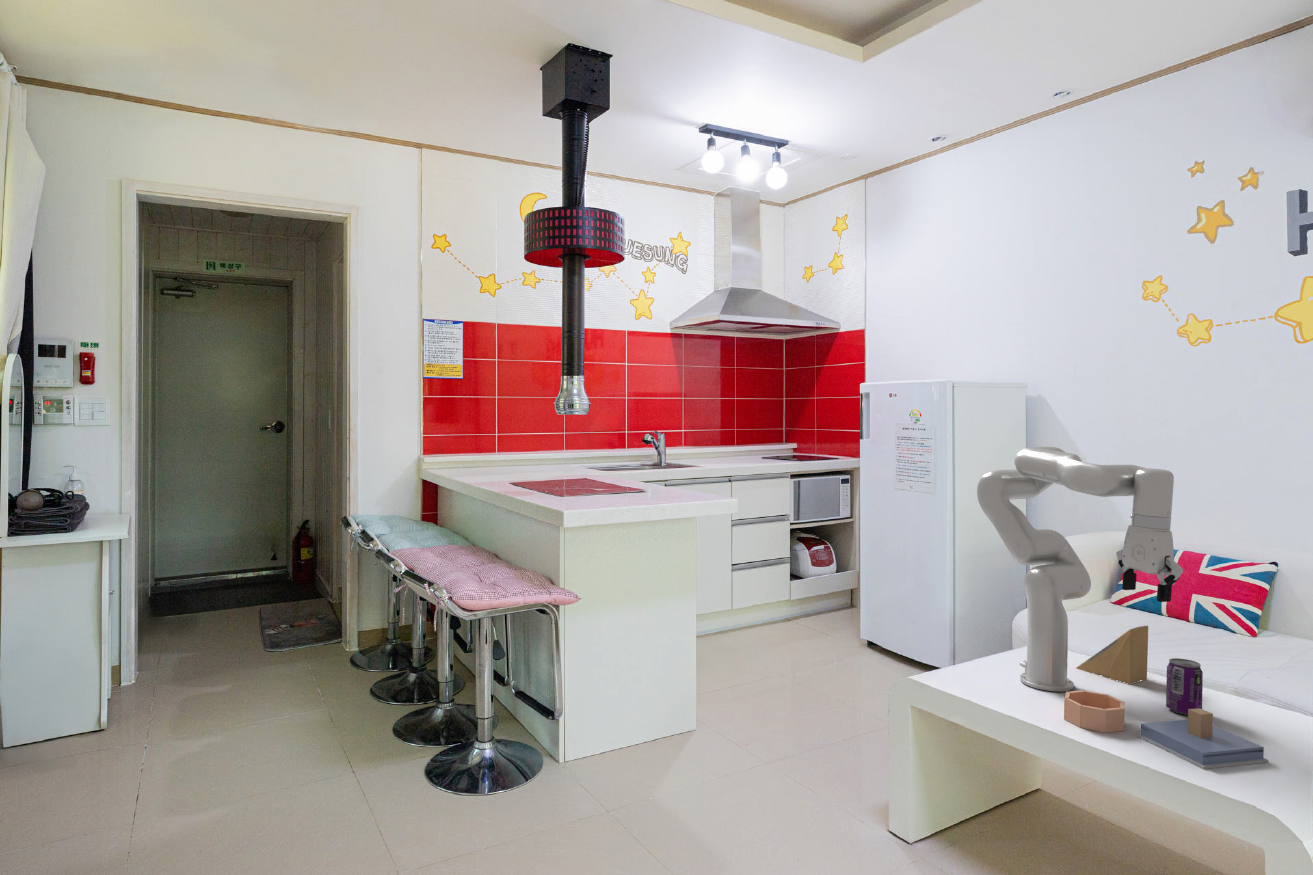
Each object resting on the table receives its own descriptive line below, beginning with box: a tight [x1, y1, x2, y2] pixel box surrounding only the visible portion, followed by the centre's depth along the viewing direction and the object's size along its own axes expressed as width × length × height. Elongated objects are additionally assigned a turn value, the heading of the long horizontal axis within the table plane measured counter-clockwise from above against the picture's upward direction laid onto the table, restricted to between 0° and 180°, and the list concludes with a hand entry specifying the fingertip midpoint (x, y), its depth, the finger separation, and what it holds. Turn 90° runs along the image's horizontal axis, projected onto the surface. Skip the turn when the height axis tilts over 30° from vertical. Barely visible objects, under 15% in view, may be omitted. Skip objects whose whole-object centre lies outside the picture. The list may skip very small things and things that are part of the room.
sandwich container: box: [1075, 625, 1149, 685], centre depth 207 cm, size 9×15×15 cm, turn 28°
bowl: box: [1063, 689, 1126, 733], centre depth 174 cm, size 12×12×5 cm
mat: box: [1136, 733, 1270, 770], centre depth 159 cm, size 16×16×1 cm
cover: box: [1139, 708, 1265, 765], centre depth 159 cm, size 15×15×8 cm
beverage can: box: [1165, 657, 1204, 716], centre depth 180 cm, size 7×7×12 cm
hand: (1145, 595), depth 173 cm, fingers open, 9 cm apart
